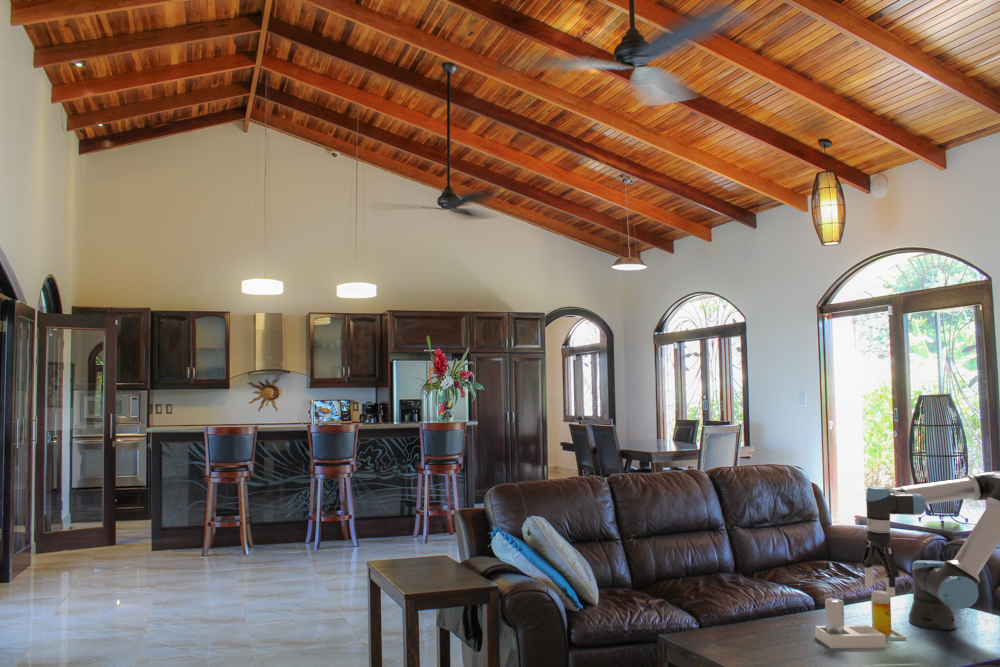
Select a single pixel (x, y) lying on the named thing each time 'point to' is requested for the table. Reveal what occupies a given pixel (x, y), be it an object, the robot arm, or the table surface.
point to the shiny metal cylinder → (834, 616)
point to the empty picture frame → (901, 637)
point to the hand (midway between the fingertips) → (879, 591)
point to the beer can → (881, 612)
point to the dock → (852, 637)
